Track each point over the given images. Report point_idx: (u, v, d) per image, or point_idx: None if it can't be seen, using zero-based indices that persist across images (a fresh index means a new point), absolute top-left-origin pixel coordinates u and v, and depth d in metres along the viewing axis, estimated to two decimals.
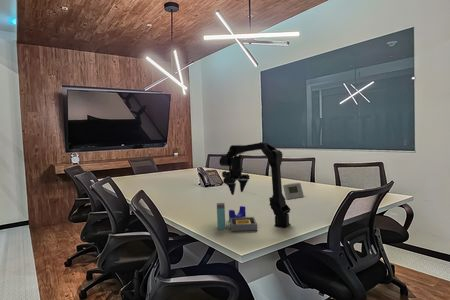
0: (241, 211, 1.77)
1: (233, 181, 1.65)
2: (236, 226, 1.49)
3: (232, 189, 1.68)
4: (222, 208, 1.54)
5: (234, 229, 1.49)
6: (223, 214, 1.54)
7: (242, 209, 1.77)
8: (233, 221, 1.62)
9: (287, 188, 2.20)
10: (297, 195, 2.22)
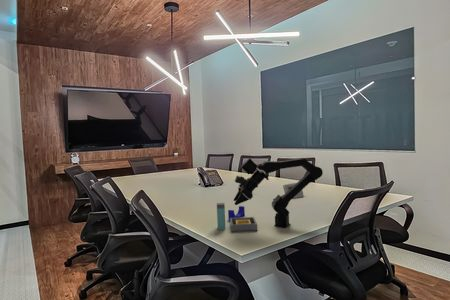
0: (240, 211, 1.77)
1: None
2: (236, 226, 1.49)
3: (240, 201, 1.50)
4: (222, 208, 1.54)
5: (234, 229, 1.49)
6: (223, 214, 1.54)
7: (241, 209, 1.77)
8: (233, 221, 1.62)
9: (287, 188, 2.20)
10: (297, 195, 2.22)
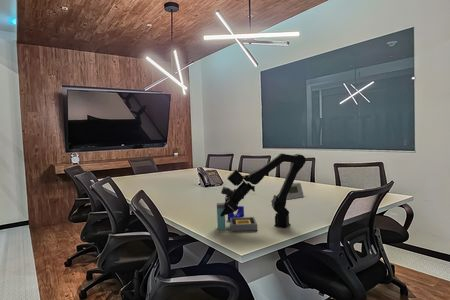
0: (239, 211, 1.77)
1: None
2: (236, 226, 1.49)
3: (226, 212, 1.50)
4: (222, 208, 1.54)
5: (234, 229, 1.49)
6: None
7: (240, 209, 1.77)
8: (233, 221, 1.62)
9: None
10: (297, 195, 2.21)
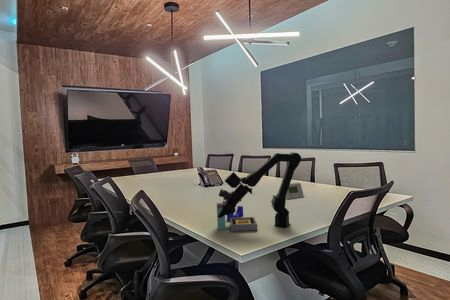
0: (239, 211, 1.77)
1: None
2: (236, 226, 1.49)
3: (224, 214, 1.52)
4: (222, 208, 1.54)
5: (234, 229, 1.49)
6: None
7: (240, 209, 1.78)
8: (233, 221, 1.62)
9: None
10: (297, 195, 2.21)
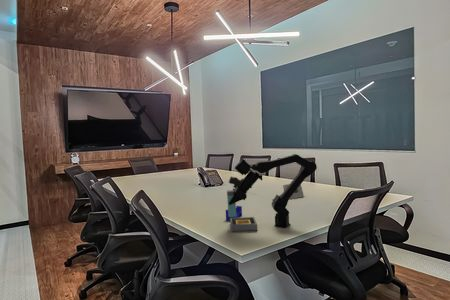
0: (237, 210, 1.78)
1: None
2: (236, 226, 1.49)
3: (234, 201, 1.52)
4: (232, 195, 1.53)
5: (234, 229, 1.49)
6: None
7: (238, 209, 1.78)
8: (233, 221, 1.62)
9: None
10: (297, 195, 2.21)
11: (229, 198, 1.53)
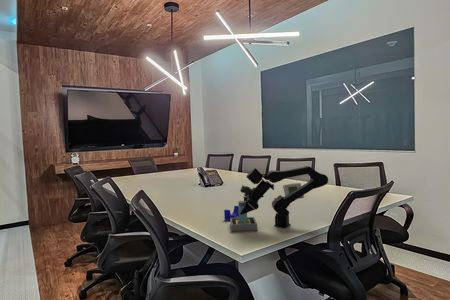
0: (235, 210, 1.78)
1: None
2: (236, 226, 1.49)
3: (246, 211, 1.50)
4: (244, 206, 1.54)
5: (234, 229, 1.49)
6: None
7: (237, 208, 1.78)
8: (233, 221, 1.62)
9: (287, 188, 2.20)
10: None
11: (241, 209, 1.54)
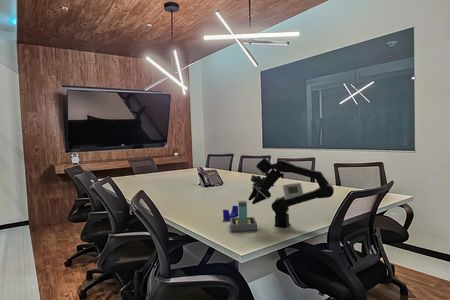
0: (234, 210, 1.79)
1: None
2: (236, 226, 1.49)
3: (258, 200, 1.51)
4: (244, 206, 1.54)
5: (234, 229, 1.49)
6: (245, 212, 1.54)
7: (235, 208, 1.79)
8: (233, 221, 1.62)
9: (287, 188, 2.19)
10: (297, 195, 2.21)
11: (241, 209, 1.54)
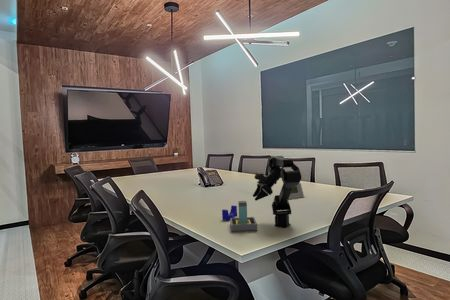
0: (233, 210, 1.79)
1: None
2: (236, 226, 1.49)
3: (260, 197, 1.57)
4: (244, 206, 1.54)
5: (234, 229, 1.49)
6: (245, 212, 1.54)
7: (234, 208, 1.79)
8: (233, 221, 1.62)
9: None
10: (297, 195, 2.21)
11: (241, 209, 1.54)
